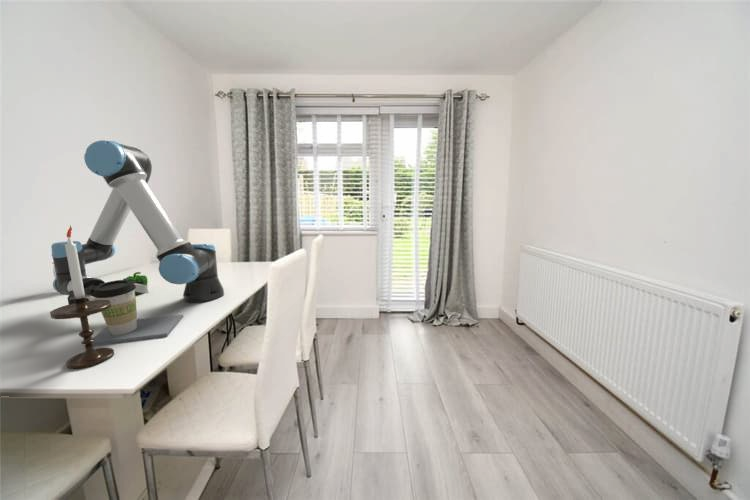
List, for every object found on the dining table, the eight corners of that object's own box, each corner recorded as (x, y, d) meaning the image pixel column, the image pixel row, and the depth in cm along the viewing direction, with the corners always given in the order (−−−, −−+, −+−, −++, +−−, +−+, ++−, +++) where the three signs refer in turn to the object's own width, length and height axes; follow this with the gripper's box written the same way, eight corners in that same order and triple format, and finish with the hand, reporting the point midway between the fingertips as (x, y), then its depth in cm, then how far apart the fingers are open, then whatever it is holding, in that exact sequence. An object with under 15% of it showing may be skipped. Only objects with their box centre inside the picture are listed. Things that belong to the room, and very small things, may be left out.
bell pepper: (119, 296, 129) (116, 273, 127) (138, 290, 137) (135, 269, 135) (134, 297, 127) (131, 274, 125) (153, 291, 135) (150, 270, 133)
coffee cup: (120, 340, 85) (108, 293, 81) (94, 336, 88) (81, 289, 84) (152, 324, 95) (142, 280, 91) (128, 320, 97) (118, 277, 93)
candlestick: (128, 347, 83) (108, 223, 77) (97, 369, 72) (71, 227, 66) (85, 350, 81) (62, 224, 76) (47, 373, 71) (17, 228, 65)
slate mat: (183, 317, 105) (182, 314, 104) (167, 336, 90) (166, 333, 89) (114, 324, 98) (114, 321, 98) (85, 346, 83) (84, 343, 83)
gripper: (130, 288, 114) (165, 295, 106) (38, 310, 92) (73, 320, 83) (127, 269, 113) (162, 274, 105) (33, 287, 91) (68, 295, 82)
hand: (123, 295), depth 94 cm, fingers open, 13 cm apart
